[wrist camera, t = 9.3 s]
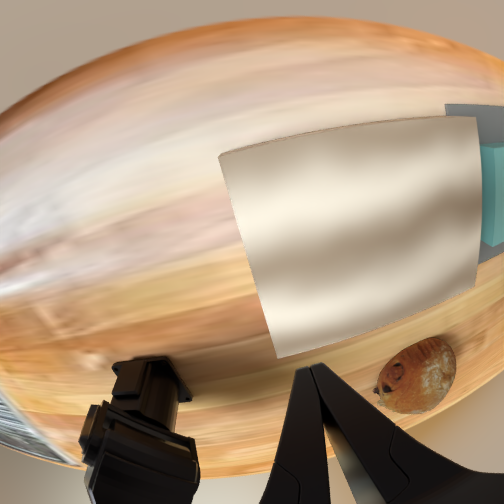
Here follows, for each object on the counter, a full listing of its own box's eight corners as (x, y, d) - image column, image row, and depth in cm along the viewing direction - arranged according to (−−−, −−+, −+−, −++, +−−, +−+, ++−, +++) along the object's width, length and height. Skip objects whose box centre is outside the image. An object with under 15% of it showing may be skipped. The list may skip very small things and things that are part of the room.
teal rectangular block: (492, 247, 18) (476, 237, 21) (522, 232, 18) (506, 224, 20) (493, 148, 15) (474, 144, 17) (523, 145, 15) (506, 141, 17)
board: (449, 267, 22) (474, 286, 18) (271, 325, 23) (277, 358, 19) (442, 115, 17) (475, 117, 13) (221, 153, 17) (217, 157, 14)
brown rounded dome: (406, 371, 33) (447, 399, 26) (358, 410, 28) (403, 447, 22) (427, 315, 29) (477, 343, 22) (378, 353, 24) (438, 395, 18)
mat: (521, 240, 22) (523, 241, 21) (452, 274, 22) (453, 275, 22) (520, 108, 16) (522, 108, 15) (444, 104, 16) (446, 104, 16)
